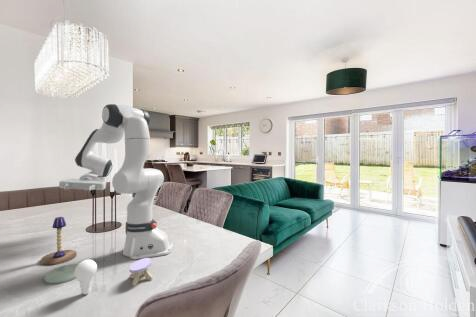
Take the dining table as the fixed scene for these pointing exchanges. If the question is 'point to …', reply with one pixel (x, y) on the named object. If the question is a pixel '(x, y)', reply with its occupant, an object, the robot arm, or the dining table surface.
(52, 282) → the sage coaster
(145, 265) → the toy table
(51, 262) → the walnut coaster
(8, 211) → the dining table surface
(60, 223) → the toy lamp
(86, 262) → the lightbulb
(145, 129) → the robot arm
